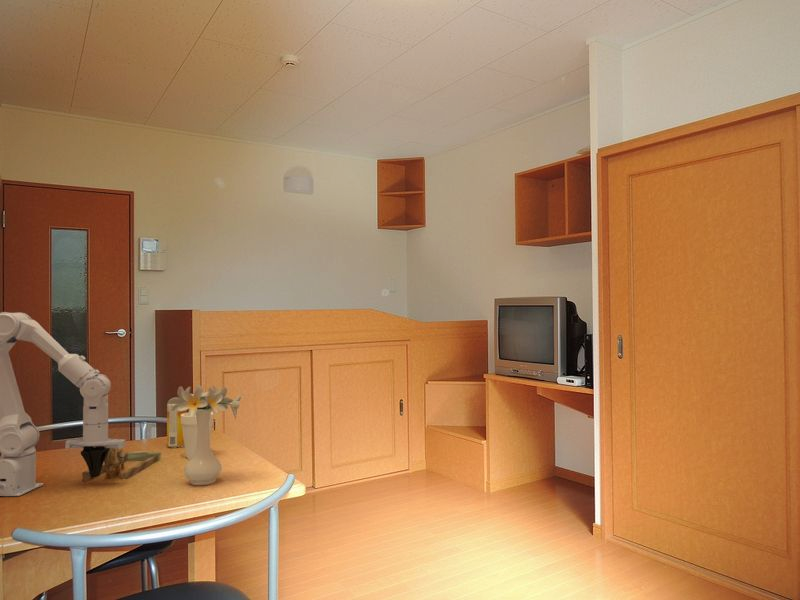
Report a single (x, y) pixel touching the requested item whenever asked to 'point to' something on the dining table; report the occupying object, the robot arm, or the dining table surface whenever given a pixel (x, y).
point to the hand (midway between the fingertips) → (95, 476)
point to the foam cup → (192, 432)
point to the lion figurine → (114, 461)
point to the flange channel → (143, 456)
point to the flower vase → (203, 429)
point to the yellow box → (174, 427)
